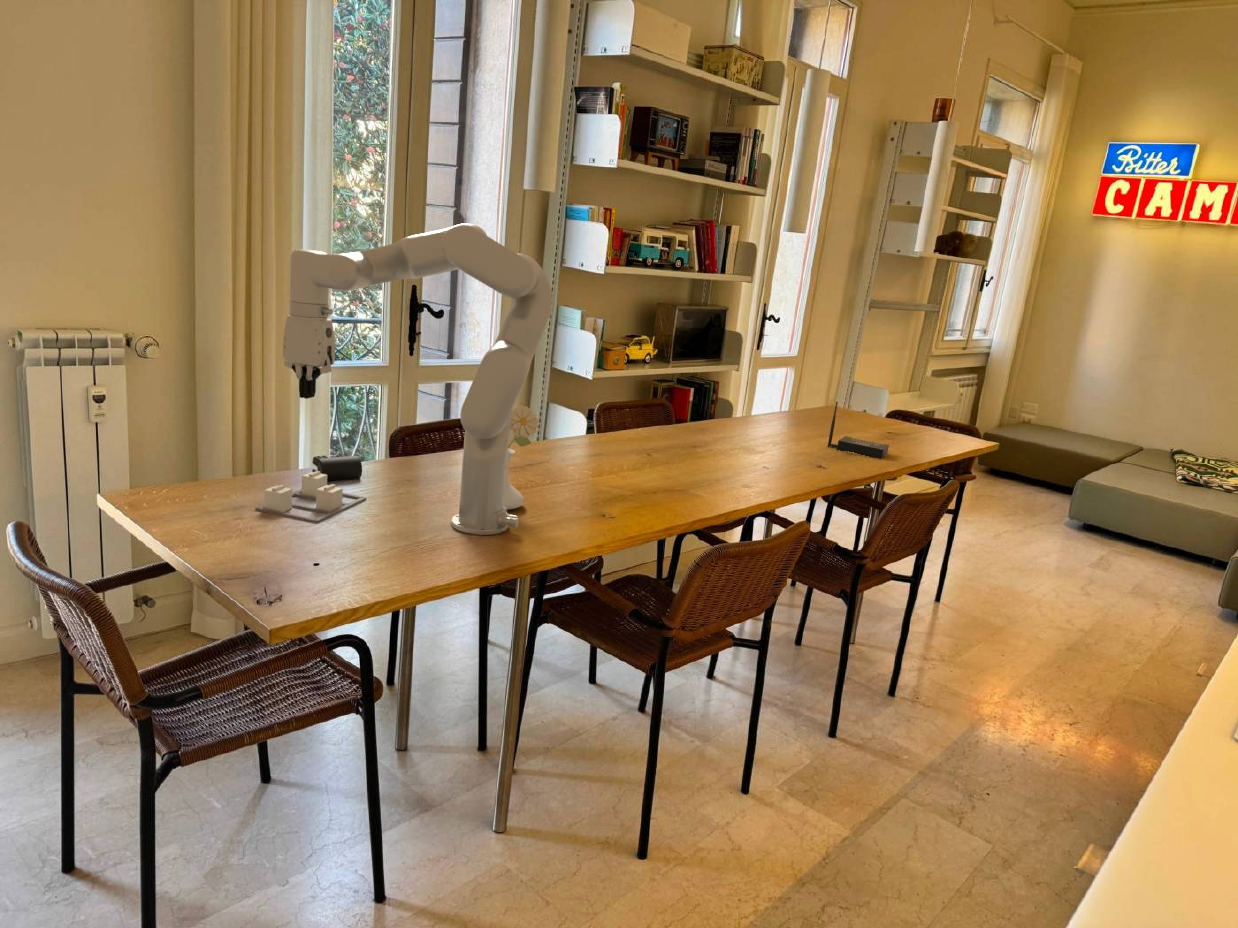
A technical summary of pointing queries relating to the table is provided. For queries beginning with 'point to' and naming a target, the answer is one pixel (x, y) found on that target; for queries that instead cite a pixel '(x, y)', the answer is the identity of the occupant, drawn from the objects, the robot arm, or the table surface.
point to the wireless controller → (858, 444)
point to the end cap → (339, 467)
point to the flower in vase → (521, 426)
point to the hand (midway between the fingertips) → (307, 397)
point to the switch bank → (317, 520)
